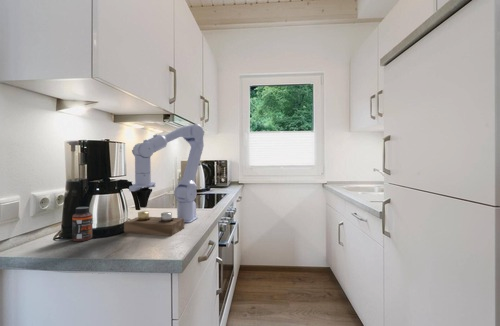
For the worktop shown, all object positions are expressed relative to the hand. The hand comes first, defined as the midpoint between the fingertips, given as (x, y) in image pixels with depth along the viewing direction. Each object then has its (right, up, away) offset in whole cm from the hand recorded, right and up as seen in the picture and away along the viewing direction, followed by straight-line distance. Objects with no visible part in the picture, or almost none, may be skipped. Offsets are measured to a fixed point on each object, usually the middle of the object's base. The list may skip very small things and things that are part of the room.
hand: (143, 207), depth 103 cm
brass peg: (0, -6, 0) cm, 6 cm away
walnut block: (+5, -9, -1) cm, 10 cm away
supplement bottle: (-17, -10, -12) cm, 23 cm away
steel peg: (+10, -6, -2) cm, 12 cm away
